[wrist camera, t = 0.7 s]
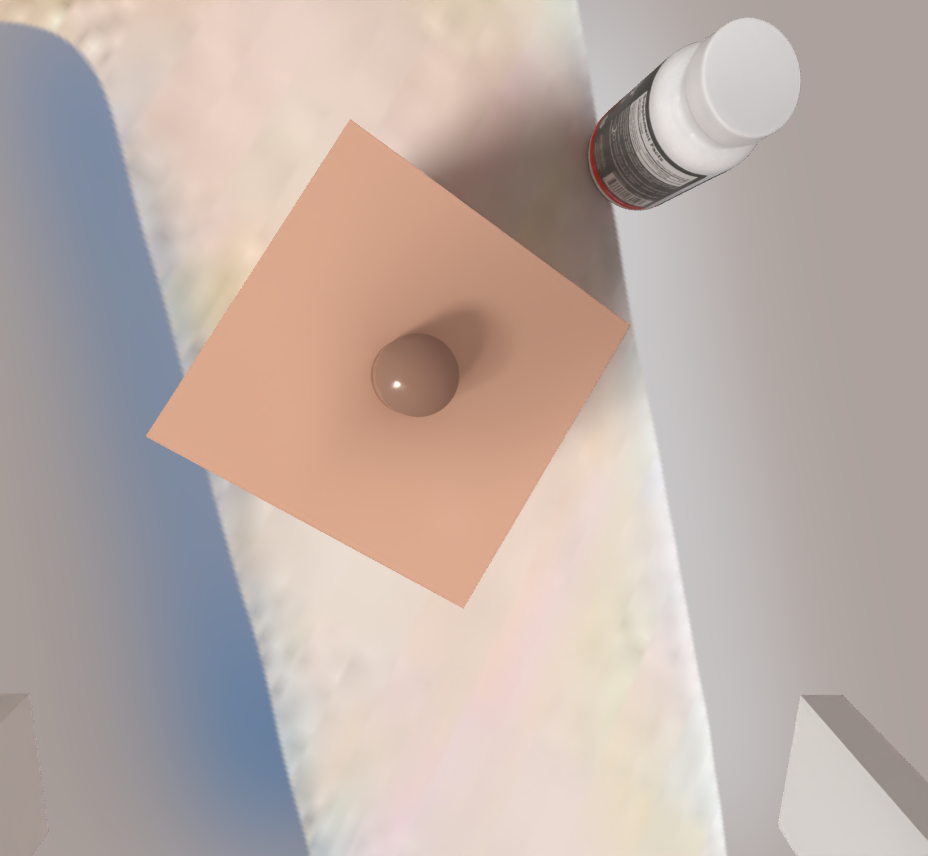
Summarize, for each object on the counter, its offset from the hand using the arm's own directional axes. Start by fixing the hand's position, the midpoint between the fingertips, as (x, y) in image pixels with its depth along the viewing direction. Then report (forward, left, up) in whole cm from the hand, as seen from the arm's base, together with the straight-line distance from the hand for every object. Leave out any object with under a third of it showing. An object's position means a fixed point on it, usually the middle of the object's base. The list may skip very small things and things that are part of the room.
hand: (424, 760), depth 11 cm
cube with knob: (-2, +6, -22) cm, 23 cm away
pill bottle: (+4, +24, -23) cm, 33 cm away
